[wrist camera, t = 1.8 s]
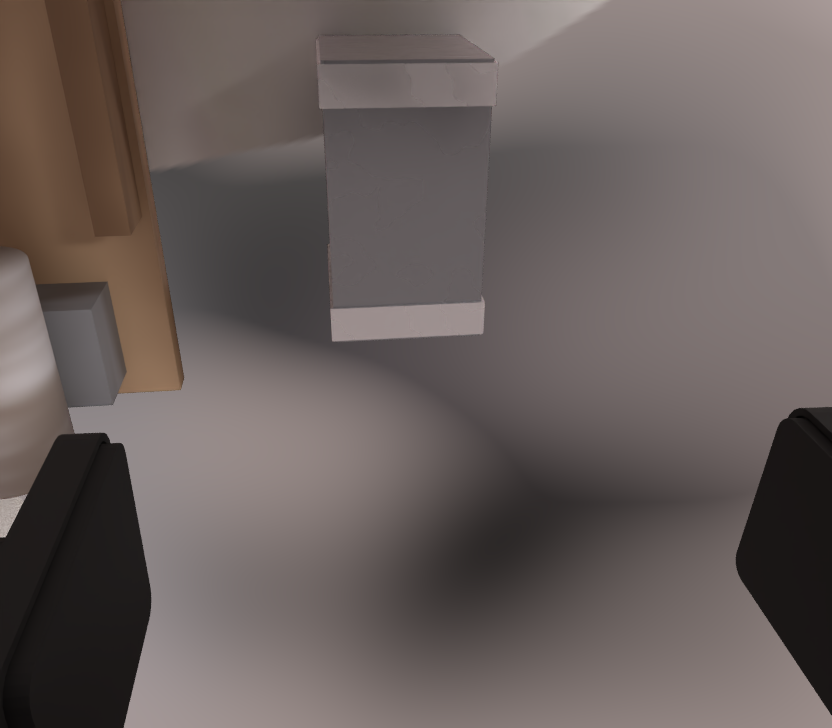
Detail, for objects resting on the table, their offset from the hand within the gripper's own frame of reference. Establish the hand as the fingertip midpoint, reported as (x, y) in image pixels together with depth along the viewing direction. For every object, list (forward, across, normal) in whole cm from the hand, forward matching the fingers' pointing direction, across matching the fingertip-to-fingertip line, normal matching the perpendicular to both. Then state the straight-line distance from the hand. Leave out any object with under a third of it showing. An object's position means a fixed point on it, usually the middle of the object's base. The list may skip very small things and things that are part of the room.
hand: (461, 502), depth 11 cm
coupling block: (+21, -1, 0) cm, 21 cm away
